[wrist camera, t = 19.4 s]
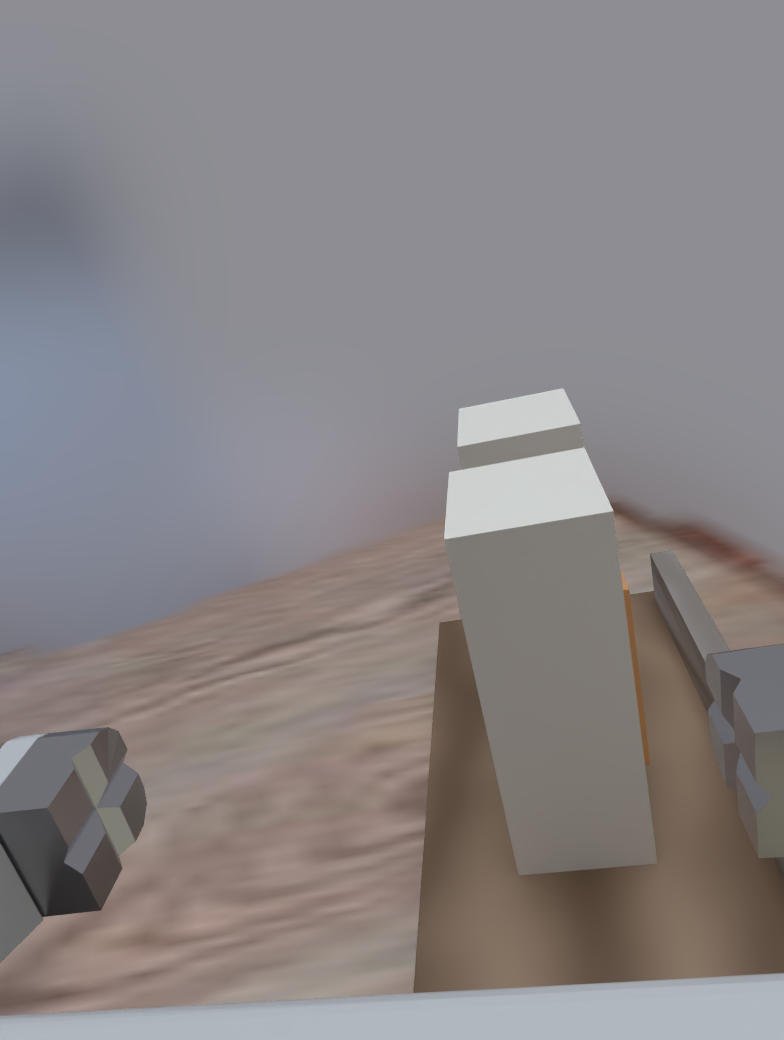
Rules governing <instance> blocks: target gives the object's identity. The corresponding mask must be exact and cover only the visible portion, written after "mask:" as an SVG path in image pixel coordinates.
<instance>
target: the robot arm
mask: <svg viewBox="0 0 784 1040" xmlns="http://www.w3.org/2000/svg"><path fill="white" fill-rule="evenodd" d="M705 671H706V682H707V684H708V686H709V688H710V691H711V693H712V695H713V697H714V699H715V701H714V702H713V704H712V705H711V706H710V708H709V709H708V718H709V729H710V736H711V741H712V746H713V751H714V755H715V758H716V761H717V764H718V767H719V770H720V772H721V775H722V777H723V779H724V782H725V784H726V786H728V787H730V788H731V789H733V790H734V791H736V792H737V798H738V814H739V816H740V818H741V820H742V823H743V825H744V827H745V829H746V831H747V834H748V836H749V838H750V840H751V842H752V845H753V847H754V849H755V851H756V854H757V856H758V858H773V857H784V644H778V645H771V646H763V647H756V648H748V649H741V650H733V651H725V652H718V653H710V654H707V655H706V662H705ZM126 752H127V747H126V745H125V743H124V741H123V740H122V738H121V736H120V734H119V732H118V731H116V730H114V729H111V728H109V727H106V728H96V729H86V730H76V731H66V732H56V733H48V734H38V735H30V736H22V737H17V738H14V739H12V740H9V741H7V742H6V743H5V744H4V745H3V747H2V748H1V749H0V963H1V962H2V961H3V960H4V959H5V958H6V957H7V956H8V955H9V954H10V953H11V952H12V951H13V950H14V949H15V948H16V947H17V946H18V945H19V944H20V943H21V942H22V941H23V940H24V939H25V938H26V937H27V936H28V935H29V934H30V933H31V932H32V931H33V930H34V929H35V928H36V927H37V926H38V925H39V924H40V923H41V922H42V921H43V917H45V916H54V915H63V914H72V913H81V912H90V911H99V910H101V909H102V907H103V905H104V903H105V901H106V899H107V897H108V895H109V893H110V892H111V890H112V888H113V886H114V884H115V882H116V880H117V878H118V876H119V874H120V872H121V870H122V865H121V862H120V858H119V855H120V854H122V853H123V852H124V851H125V850H126V849H127V848H129V847H130V846H131V845H132V844H133V843H135V842H136V840H137V838H138V836H139V833H140V831H141V829H142V827H143V825H144V819H145V812H146V805H147V802H146V796H145V790H144V786H143V783H142V781H141V779H140V776H139V774H138V773H137V772H135V771H134V770H133V769H131V768H130V767H129V766H127V765H126V764H124V763H123V761H124V758H125V755H126ZM0 1040H784V973H773V974H756V975H738V976H720V977H703V978H685V979H667V980H649V981H630V982H611V983H592V984H574V985H555V986H536V987H517V988H499V989H480V990H461V991H442V992H424V993H405V994H387V995H369V996H351V997H333V998H315V999H297V1000H279V1001H261V1002H243V1003H225V1004H207V1005H189V1006H171V1007H152V1008H134V1009H116V1010H98V1011H80V1012H62V1013H43V1014H25V1015H7V1016H0Z"/></svg>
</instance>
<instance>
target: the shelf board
mask: <svg viewBox="0 0 784 1040" xmlns="http://www.w3.org/2000/svg"><path fill="white" fill-rule="evenodd" d="M650 557H651V566H652V576H653V585H654V591H651V592H645V593H638V594H631V595H630V602H631V610H632V618H633V626H634V634H635V643H636V651H637V659H638V667H639V675H640V684H641V692H642V700H643V708H644V716H645V724H646V733H647V741H648V749H649V757H650V765H645V768H646V776H647V784H648V792H649V800H650V808H651V816H652V824H653V832H654V840H655V848H656V856H657V864H647V865H635V866H624V867H612V868H600V869H588V870H576V871H564V872H553V873H541V874H529V875H518V870H517V866H516V861H515V857H514V852H513V848H512V843H511V839H510V834H509V830H508V825H507V821H506V816H505V812H504V807H503V803H502V798H501V794H500V789H499V785H498V780H497V776H496V771H495V767H494V762H493V758H492V753H491V749H490V744H489V740H488V735H487V731H486V726H485V722H484V717H483V713H482V708H481V704H480V699H479V694H478V690H477V685H476V681H475V676H474V672H473V667H472V663H471V658H470V654H469V649H468V645H467V640H466V636H465V631H464V627H463V622H462V620H455V621H448V622H441V623H440V625H439V640H438V654H437V668H436V682H435V696H434V711H433V725H432V739H431V753H430V767H429V782H428V796H427V810H426V824H425V838H424V853H423V867H422V881H421V895H420V909H419V923H418V938H417V952H416V966H415V980H414V993H424V992H442V991H461V990H480V989H499V988H517V987H536V986H555V985H574V984H592V983H611V982H630V981H649V980H667V979H685V978H703V977H720V976H738V975H756V974H773V973H784V857H773V858H758V856H757V854H756V851H755V849H754V847H753V845H752V842H751V840H750V838H749V836H748V834H747V831H746V829H745V827H744V825H743V823H742V820H741V818H740V816H739V814H738V798H737V792H736V791H734V790H733V789H731V788H730V787H728V786H726V784H725V782H724V779H723V777H722V775H721V772H720V770H719V767H718V764H717V761H716V758H715V755H714V751H713V746H712V741H711V736H710V729H709V718H708V709H709V708H710V706H711V705H712V704H713V702H714V701H715V699H714V697H713V695H712V693H711V691H710V688H709V686H708V684H707V682H706V671H705V662H706V655H707V654H710V653H718V652H725V651H730V649H729V648H728V646H727V644H726V642H725V641H724V639H723V637H722V635H721V634H720V632H719V630H718V628H717V627H716V625H715V623H714V621H713V620H712V618H711V616H710V615H709V613H708V611H707V609H706V608H705V606H704V604H703V602H702V601H701V599H700V597H699V595H698V594H697V592H696V590H695V588H694V587H693V585H692V583H691V582H690V580H689V578H688V576H687V575H686V573H685V571H684V569H683V568H682V566H681V564H680V562H679V561H678V559H677V557H676V555H675V554H674V552H673V550H670V551H664V552H657V553H651V554H650Z"/></svg>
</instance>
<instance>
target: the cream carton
mask: <svg viewBox="0 0 784 1040" xmlns="http://www.w3.org/2000/svg"><path fill="white" fill-rule="evenodd" d="M444 541H445V546H446V550H447V555H448V559H449V564H450V568H451V573H452V577H453V582H454V586H455V591H456V595H457V600H458V604H459V609H460V613H461V618H462V622H463V627H464V631H465V636H466V640H467V645H468V649H469V654H470V658H471V663H472V667H473V672H474V676H475V681H476V685H477V690H478V694H479V699H480V704H481V708H482V713H483V717H484V722H485V726H486V731H487V735H488V740H489V744H490V749H491V753H492V758H493V762H494V767H495V771H496V776H497V780H498V785H499V789H500V794H501V798H502V803H503V807H504V812H505V816H506V821H507V825H508V830H509V834H510V839H511V843H512V848H513V852H514V857H515V861H516V866H517V870H518V875H529V874H541V873H553V872H564V871H576V870H588V869H600V868H612V867H624V866H635V865H647V864H657V856H656V848H655V840H654V832H653V824H652V816H651V808H650V800H649V792H648V784H647V776H646V768H645V765H650V757H649V749H648V741H647V733H646V724H645V716H644V708H643V700H642V692H641V684H640V675H639V667H638V659H637V651H636V643H635V634H634V626H633V618H632V610H631V602H630V593H629V588H628V586H627V583H626V581H625V578H624V576H623V573H622V571H621V568H620V561H619V553H618V545H617V537H616V529H615V521H614V513H613V509H612V507H611V505H610V503H609V501H608V498H607V496H606V494H605V492H604V490H603V487H602V485H601V483H600V481H599V479H598V477H597V474H596V472H595V470H594V468H593V466H592V463H591V461H590V459H589V457H588V455H587V452H586V450H585V448H579V449H573V450H568V451H562V452H557V453H551V454H546V455H540V456H535V457H530V458H524V459H519V460H513V461H508V462H502V463H497V464H491V465H486V466H480V467H475V468H469V469H464V470H459V471H453V472H449V483H448V495H447V508H446V521H445V534H444Z"/></svg>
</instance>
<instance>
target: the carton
mask: <svg viewBox="0 0 784 1040" xmlns="http://www.w3.org/2000/svg"><path fill="white" fill-rule="evenodd" d="M457 448H458V452H459V458H460V462H461V467H462V470H464V469H469V468H475V467H480V466H486V465H491V464H497V463H502V462H508V461H513V460H519V459H524V458H530V457H535V456H540V455H546V454H551V453H557V452H562V451H568V450H573V449H579V448H584V445H583V438H582V431H581V424H580V422H579V419H578V418H577V415H576V413H575V411H574V410H573V407H572V405H571V403H570V401H569V399H568V397H567V395H566V393H565V391H564V389H558V390H553V391H547V392H542V393H537V394H532V395H527V396H522V397H517V398H512V399H507V400H502V401H497V402H492V403H487V404H482V405H477V406H472V407H467V408H462V409H459V423H458V443H457Z"/></svg>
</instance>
